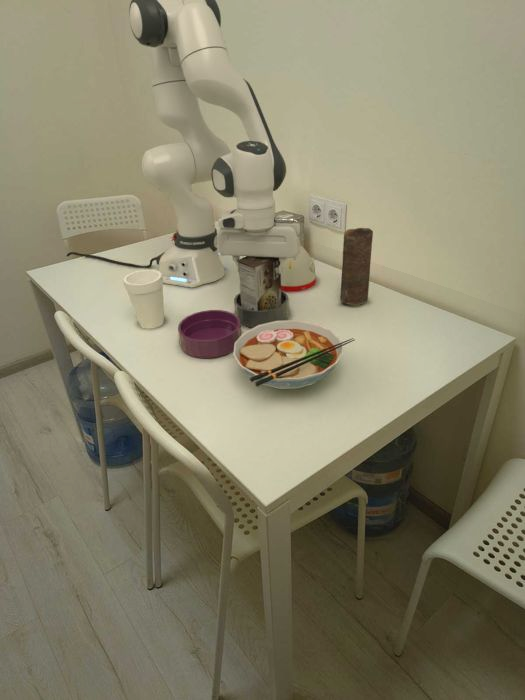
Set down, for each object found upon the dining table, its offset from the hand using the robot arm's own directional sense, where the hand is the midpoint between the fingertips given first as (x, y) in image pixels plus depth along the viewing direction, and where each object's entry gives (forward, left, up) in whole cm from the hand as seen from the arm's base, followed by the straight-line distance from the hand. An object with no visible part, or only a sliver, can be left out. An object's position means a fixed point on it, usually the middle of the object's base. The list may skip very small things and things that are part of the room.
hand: (260, 272), depth 119 cm
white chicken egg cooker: (+4, +22, -13) cm, 26 cm away
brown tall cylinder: (+23, +11, -13) cm, 28 cm away
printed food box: (0, 0, -12) cm, 12 cm away
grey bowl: (0, 0, -12) cm, 12 cm away
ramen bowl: (+12, -25, -13) cm, 31 cm away
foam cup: (-28, -8, -13) cm, 32 cm away
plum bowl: (-9, -15, -12) cm, 21 cm away
